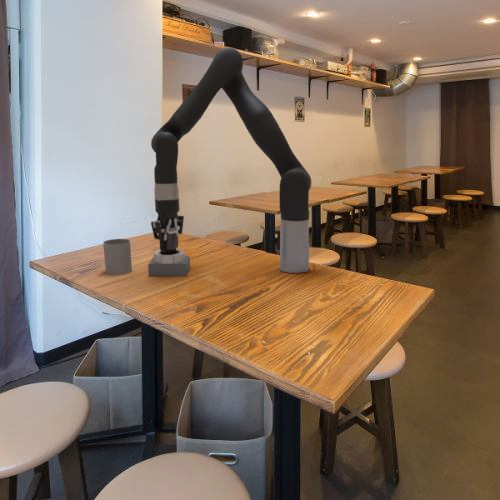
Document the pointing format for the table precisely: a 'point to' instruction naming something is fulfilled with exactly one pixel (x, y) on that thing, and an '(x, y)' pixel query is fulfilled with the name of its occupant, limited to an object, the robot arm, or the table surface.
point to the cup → (117, 256)
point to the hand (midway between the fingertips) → (169, 249)
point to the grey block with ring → (169, 264)
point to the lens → (171, 242)
